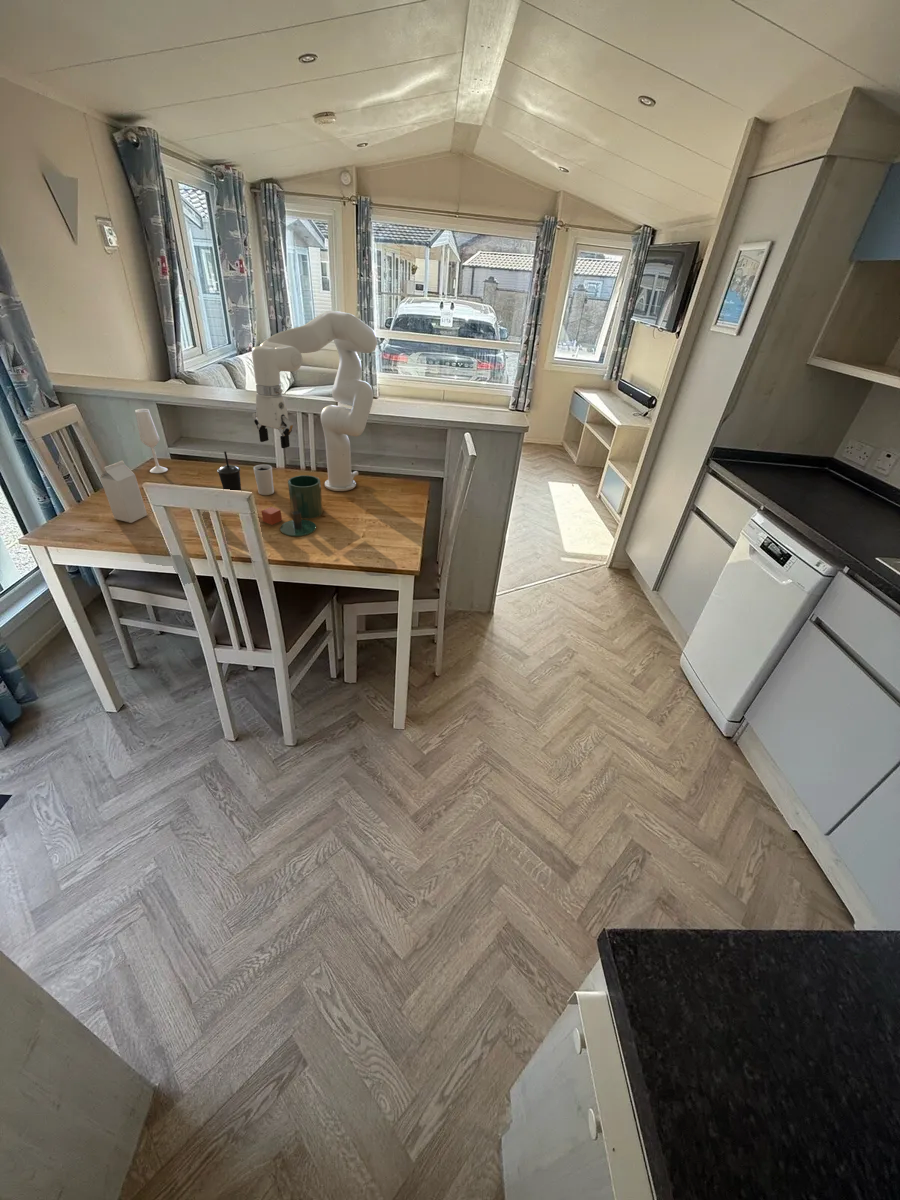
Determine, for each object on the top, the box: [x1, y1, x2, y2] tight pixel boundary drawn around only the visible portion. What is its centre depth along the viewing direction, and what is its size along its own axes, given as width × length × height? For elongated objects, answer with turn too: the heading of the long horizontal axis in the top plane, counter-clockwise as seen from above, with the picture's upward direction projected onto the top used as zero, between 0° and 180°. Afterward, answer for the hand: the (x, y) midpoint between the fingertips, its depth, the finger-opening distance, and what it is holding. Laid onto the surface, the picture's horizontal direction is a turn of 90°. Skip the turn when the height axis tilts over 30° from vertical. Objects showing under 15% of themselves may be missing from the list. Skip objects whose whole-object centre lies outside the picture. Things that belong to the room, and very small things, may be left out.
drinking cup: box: [216, 451, 242, 491], centre depth 181 cm, size 8×8×20 cm
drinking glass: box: [252, 464, 275, 496], centre depth 195 cm, size 7×7×10 cm
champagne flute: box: [134, 408, 169, 474], centre depth 201 cm, size 7×7×24 cm
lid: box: [279, 511, 317, 538], centre depth 172 cm, size 12×12×7 cm
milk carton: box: [99, 460, 148, 524], centre depth 168 cm, size 7×7×19 cm
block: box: [261, 506, 283, 525], centre depth 176 cm, size 4×4×4 cm
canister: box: [287, 474, 324, 520], centre depth 181 cm, size 11×11×12 cm
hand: (274, 444), depth 168 cm, fingers open, 9 cm apart
